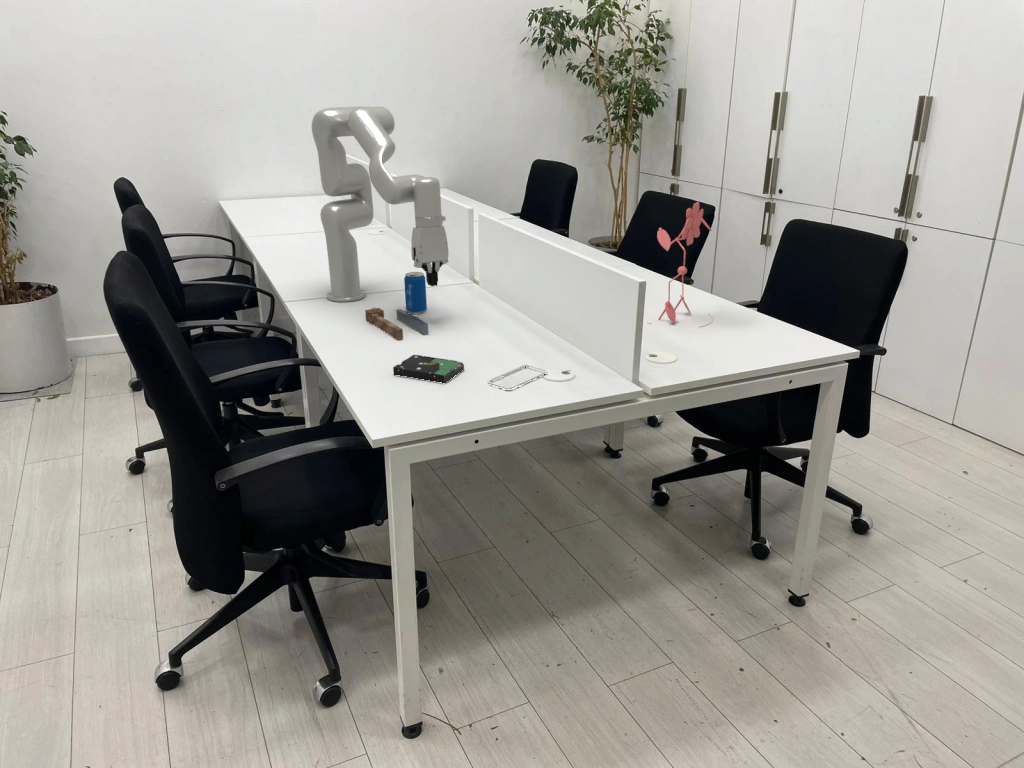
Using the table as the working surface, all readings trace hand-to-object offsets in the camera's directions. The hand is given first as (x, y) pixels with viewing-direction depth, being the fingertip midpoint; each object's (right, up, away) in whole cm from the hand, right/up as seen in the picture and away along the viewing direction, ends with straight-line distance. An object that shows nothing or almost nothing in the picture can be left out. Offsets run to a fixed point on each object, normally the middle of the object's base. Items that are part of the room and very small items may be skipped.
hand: (432, 284), depth 227 cm
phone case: (+25, -29, -37) cm, 53 cm away
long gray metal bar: (-6, -12, +1) cm, 14 cm away
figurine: (+76, -10, +5) cm, 77 cm away
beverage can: (-7, -7, +15) cm, 18 cm away
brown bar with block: (-13, -13, -1) cm, 18 cm away
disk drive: (+3, -27, -33) cm, 43 cm away
